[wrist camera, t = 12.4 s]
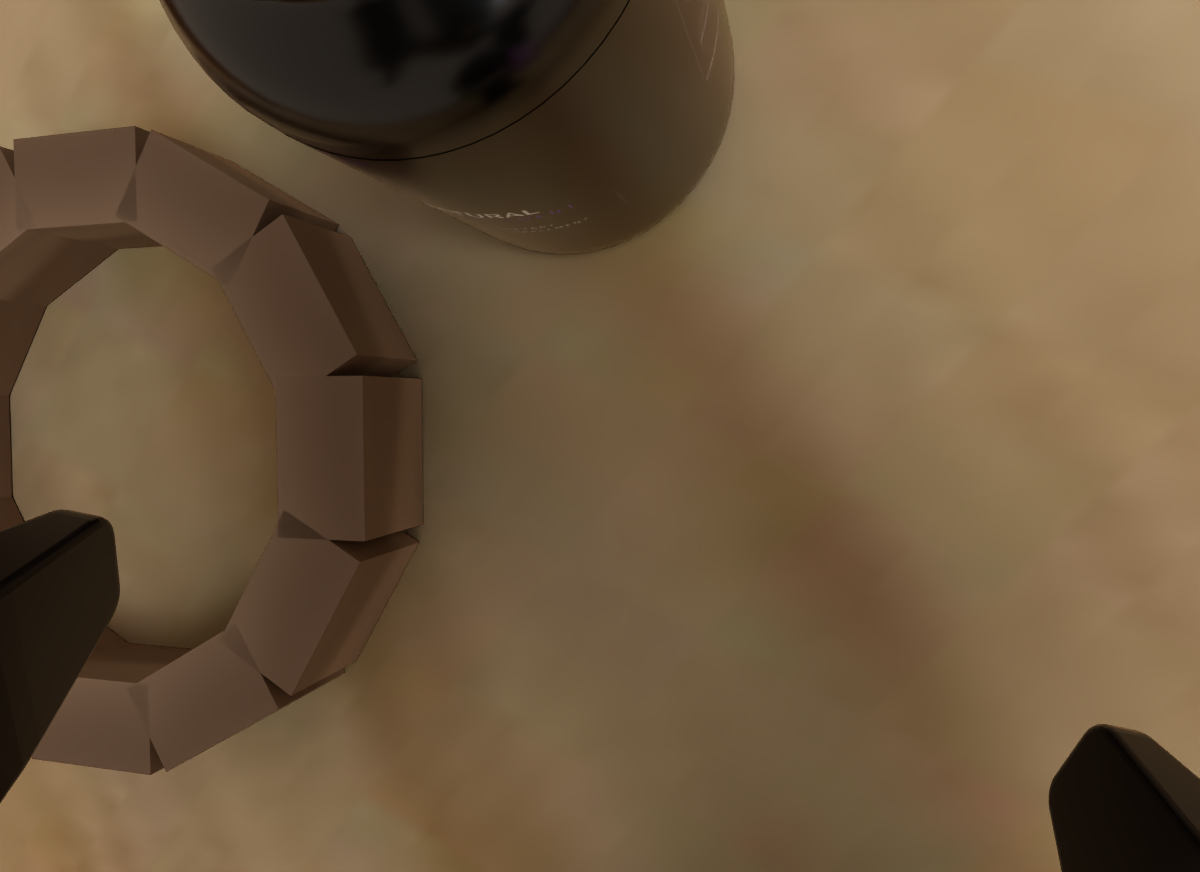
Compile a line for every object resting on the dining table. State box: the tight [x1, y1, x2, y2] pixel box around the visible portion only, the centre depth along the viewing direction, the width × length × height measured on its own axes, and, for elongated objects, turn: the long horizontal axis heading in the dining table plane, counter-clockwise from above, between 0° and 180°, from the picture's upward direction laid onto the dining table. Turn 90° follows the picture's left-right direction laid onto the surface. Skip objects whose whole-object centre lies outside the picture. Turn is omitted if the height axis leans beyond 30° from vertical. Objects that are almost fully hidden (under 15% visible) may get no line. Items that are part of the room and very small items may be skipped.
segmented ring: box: [0, 126, 423, 775], centre depth 20 cm, size 14×14×2 cm
